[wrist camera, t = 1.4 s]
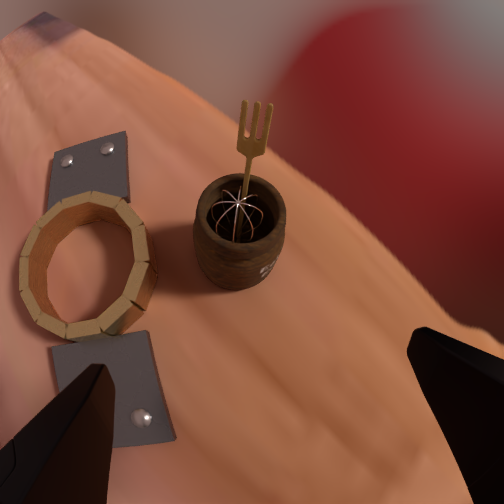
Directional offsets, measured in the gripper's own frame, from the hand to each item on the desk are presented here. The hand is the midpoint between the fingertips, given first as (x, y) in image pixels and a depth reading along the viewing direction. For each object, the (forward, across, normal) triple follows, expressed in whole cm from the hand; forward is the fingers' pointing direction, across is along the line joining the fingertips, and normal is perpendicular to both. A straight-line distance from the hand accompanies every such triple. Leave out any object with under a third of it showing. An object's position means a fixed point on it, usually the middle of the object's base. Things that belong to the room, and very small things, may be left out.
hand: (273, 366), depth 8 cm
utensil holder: (+16, 0, +3) cm, 16 cm away
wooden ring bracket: (+15, +11, +4) cm, 19 cm away
